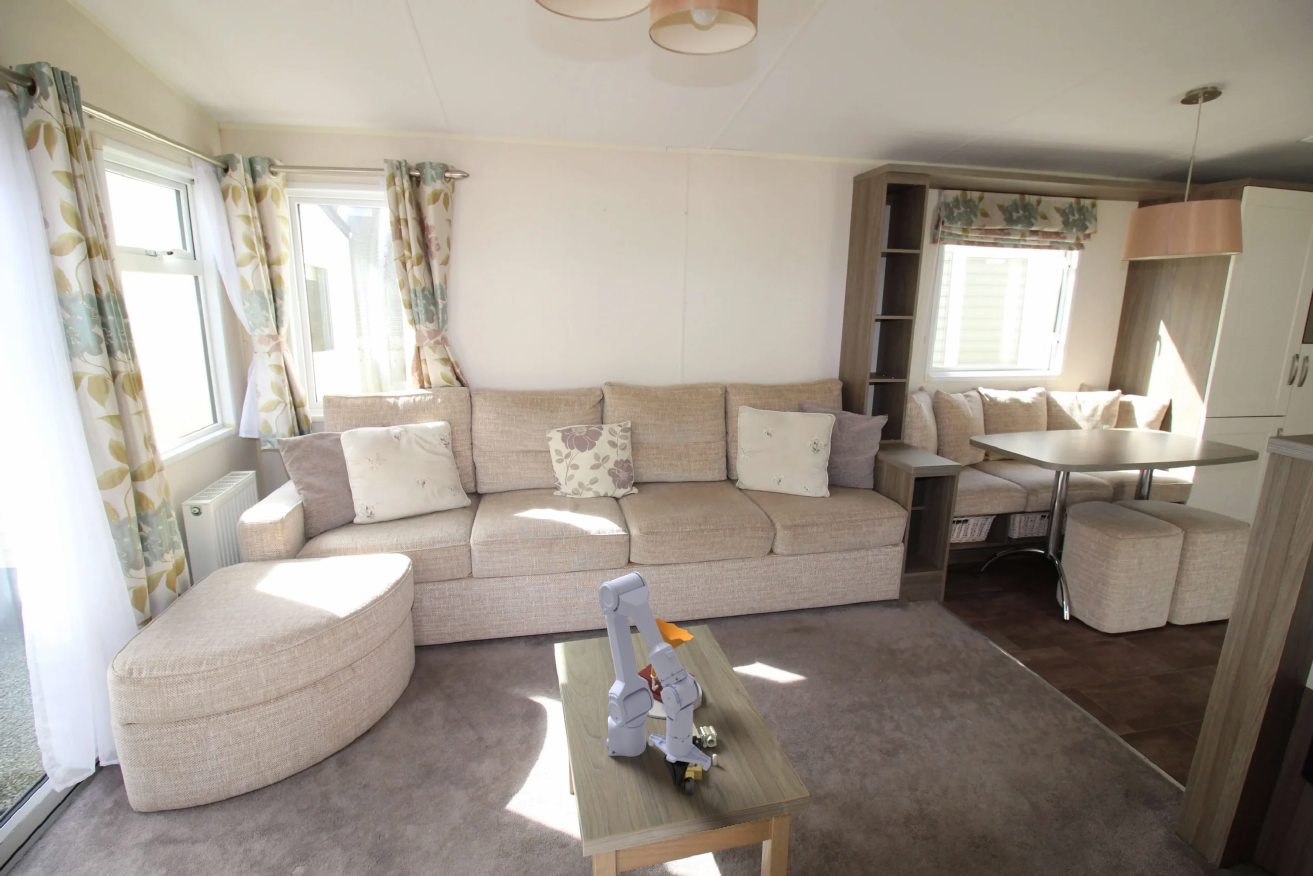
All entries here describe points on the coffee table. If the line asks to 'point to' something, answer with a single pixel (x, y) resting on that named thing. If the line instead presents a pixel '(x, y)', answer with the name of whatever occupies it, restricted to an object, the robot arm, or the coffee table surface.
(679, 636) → the gramophone
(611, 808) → the coffee table surface
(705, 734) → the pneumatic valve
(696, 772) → the square nut with handle
